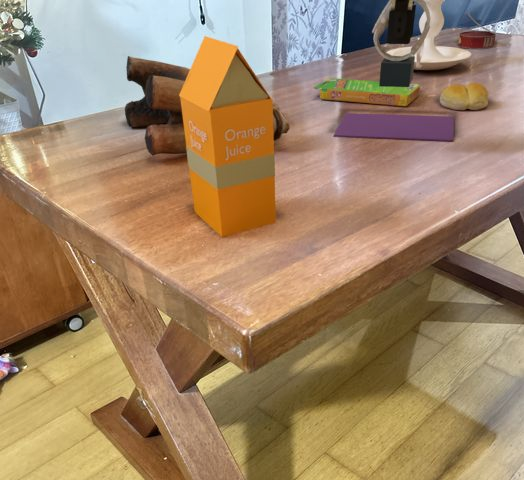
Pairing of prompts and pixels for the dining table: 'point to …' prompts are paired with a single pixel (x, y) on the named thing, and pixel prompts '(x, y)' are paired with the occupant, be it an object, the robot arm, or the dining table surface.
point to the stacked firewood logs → (167, 106)
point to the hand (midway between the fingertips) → (399, 38)
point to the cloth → (396, 127)
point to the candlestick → (428, 52)
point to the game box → (367, 92)
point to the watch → (397, 67)
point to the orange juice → (229, 140)
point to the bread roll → (465, 97)
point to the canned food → (476, 38)
